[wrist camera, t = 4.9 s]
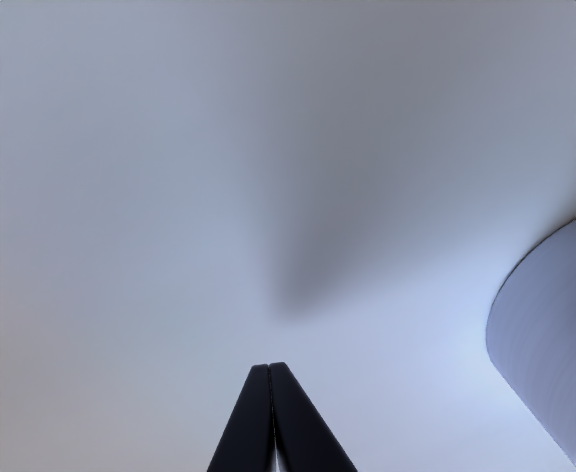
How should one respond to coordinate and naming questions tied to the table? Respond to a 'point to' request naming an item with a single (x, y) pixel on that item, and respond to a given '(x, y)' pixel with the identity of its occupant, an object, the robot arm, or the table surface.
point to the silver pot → (541, 335)
